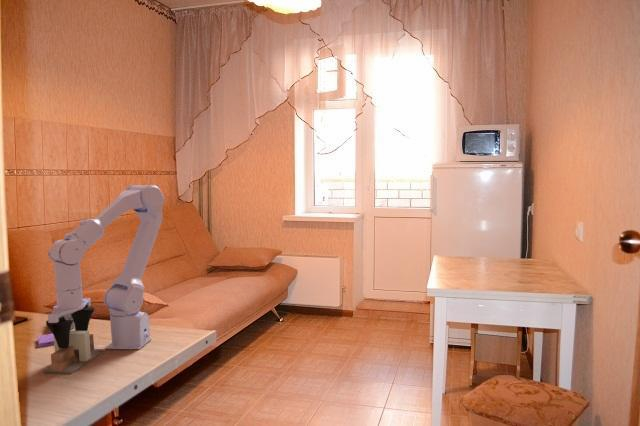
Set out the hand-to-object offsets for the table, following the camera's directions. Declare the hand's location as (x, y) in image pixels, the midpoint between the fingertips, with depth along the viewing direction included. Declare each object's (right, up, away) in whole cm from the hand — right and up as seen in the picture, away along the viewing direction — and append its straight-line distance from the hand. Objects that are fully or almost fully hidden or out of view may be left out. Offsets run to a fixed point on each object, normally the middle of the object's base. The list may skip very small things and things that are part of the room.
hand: (73, 342), depth 121 cm
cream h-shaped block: (0, -4, 0) cm, 4 cm away
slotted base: (0, -5, 0) cm, 5 cm away
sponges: (-11, -5, +17) cm, 21 cm away
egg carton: (-17, -3, +29) cm, 34 cm away
